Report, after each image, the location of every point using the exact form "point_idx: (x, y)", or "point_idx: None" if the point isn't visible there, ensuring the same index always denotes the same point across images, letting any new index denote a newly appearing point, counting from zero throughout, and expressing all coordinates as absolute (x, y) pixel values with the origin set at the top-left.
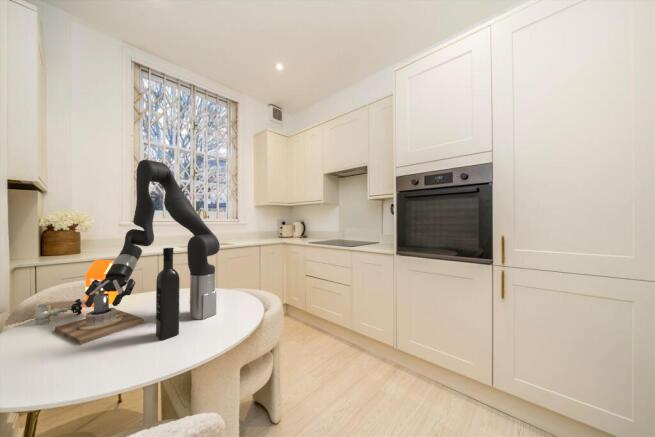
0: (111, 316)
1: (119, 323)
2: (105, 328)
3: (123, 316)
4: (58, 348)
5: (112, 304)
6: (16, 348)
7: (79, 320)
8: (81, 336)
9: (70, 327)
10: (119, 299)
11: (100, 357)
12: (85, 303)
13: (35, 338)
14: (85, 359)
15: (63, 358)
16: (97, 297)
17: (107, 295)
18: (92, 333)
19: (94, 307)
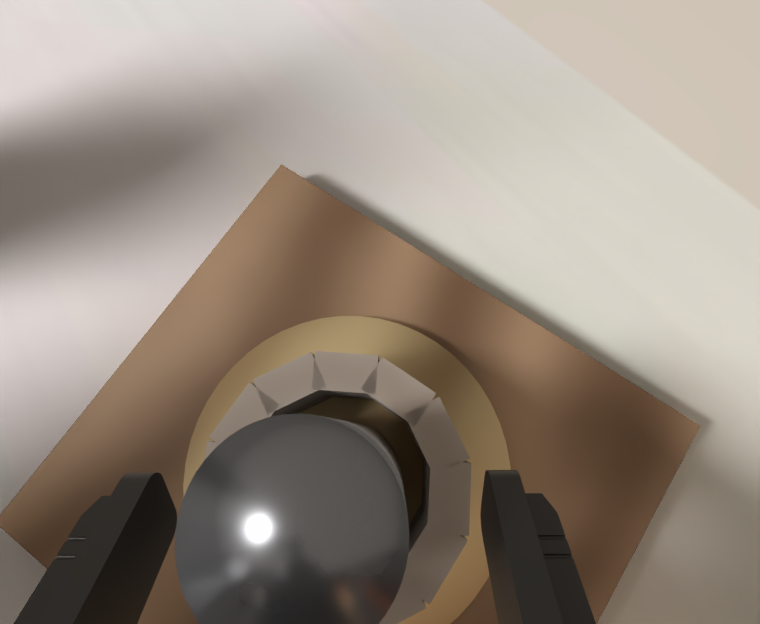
0: None
1: (170, 430)
2: (228, 335)
3: None
4: (389, 154)
5: (158, 473)
6: (659, 181)
7: (610, 568)
8: (314, 215)
9: (544, 395)
10: (62, 559)
11: (80, 41)
12: (541, 500)
13: (693, 311)
14: (145, 31)
15: (266, 50)
16: (294, 416)
17: (181, 529)
18: (270, 256)
19: (366, 429)
